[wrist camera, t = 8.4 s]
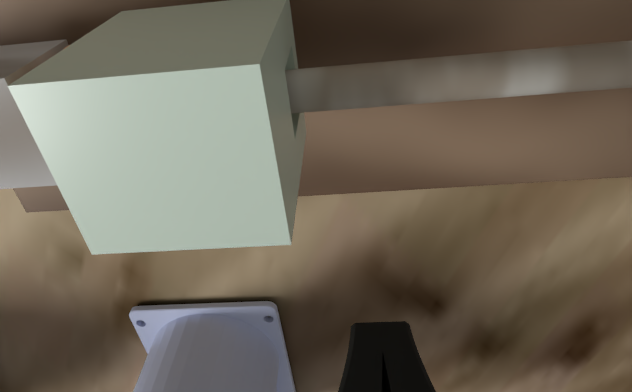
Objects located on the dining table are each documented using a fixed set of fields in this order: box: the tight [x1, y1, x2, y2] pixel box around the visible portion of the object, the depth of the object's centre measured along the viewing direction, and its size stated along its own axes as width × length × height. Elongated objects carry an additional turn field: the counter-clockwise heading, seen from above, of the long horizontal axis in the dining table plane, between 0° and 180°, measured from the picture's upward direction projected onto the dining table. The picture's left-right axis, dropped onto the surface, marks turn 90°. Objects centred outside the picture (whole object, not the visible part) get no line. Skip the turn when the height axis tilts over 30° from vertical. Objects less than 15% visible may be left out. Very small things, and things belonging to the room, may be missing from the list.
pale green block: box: [8, 0, 306, 254], centre depth 13 cm, size 4×5×6 cm
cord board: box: [0, 0, 632, 212], centre depth 14 cm, size 12×28×6 cm, turn 96°
